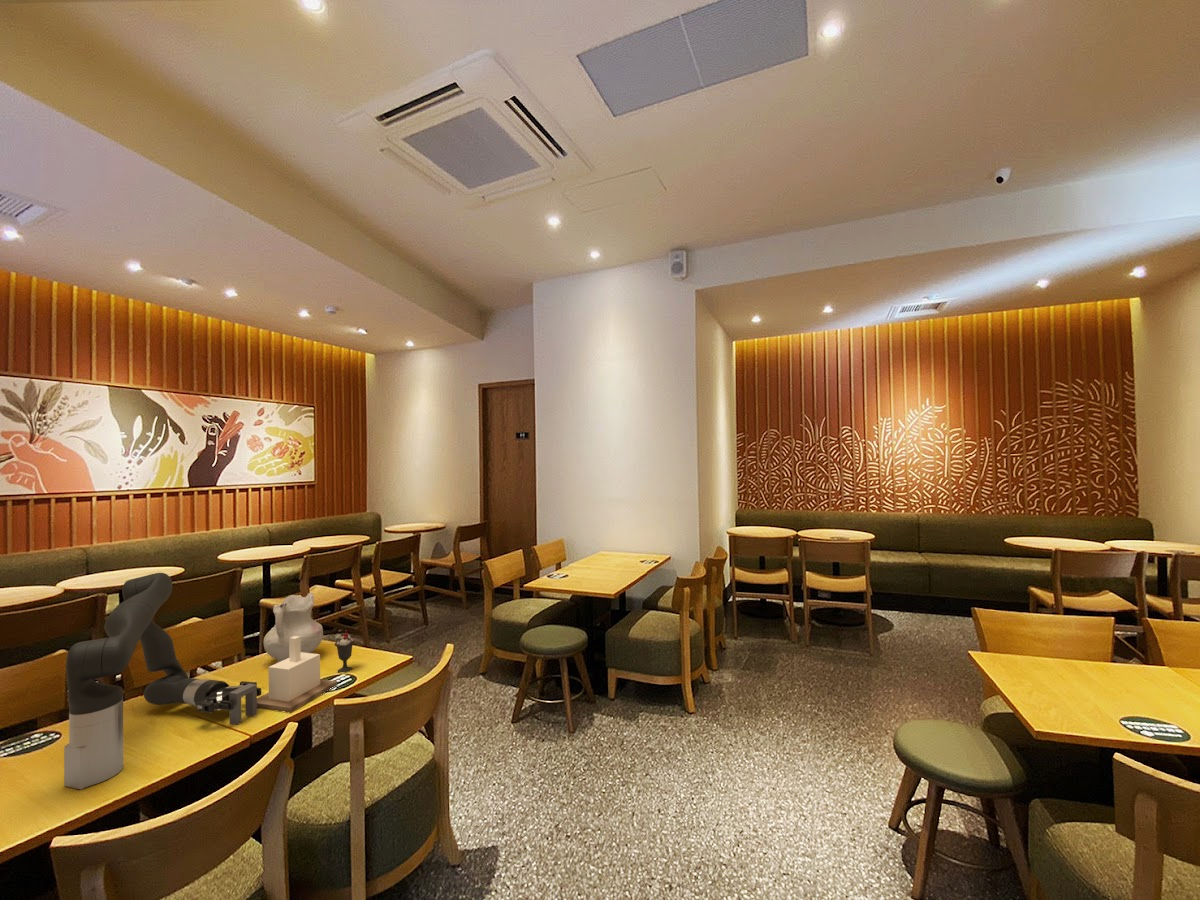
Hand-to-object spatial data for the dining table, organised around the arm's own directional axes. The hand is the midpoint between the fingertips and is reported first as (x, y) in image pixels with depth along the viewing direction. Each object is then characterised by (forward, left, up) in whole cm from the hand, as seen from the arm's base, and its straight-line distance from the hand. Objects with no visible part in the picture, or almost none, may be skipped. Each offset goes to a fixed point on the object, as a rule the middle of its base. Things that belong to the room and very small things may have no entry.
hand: (246, 698), depth 144 cm
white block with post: (+15, -2, -4) cm, 16 cm away
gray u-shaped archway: (0, +1, -6) cm, 6 cm away
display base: (+15, -2, -6) cm, 16 cm away
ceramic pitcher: (+37, +23, -6) cm, 44 cm away
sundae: (+35, -3, -6) cm, 36 cm away
